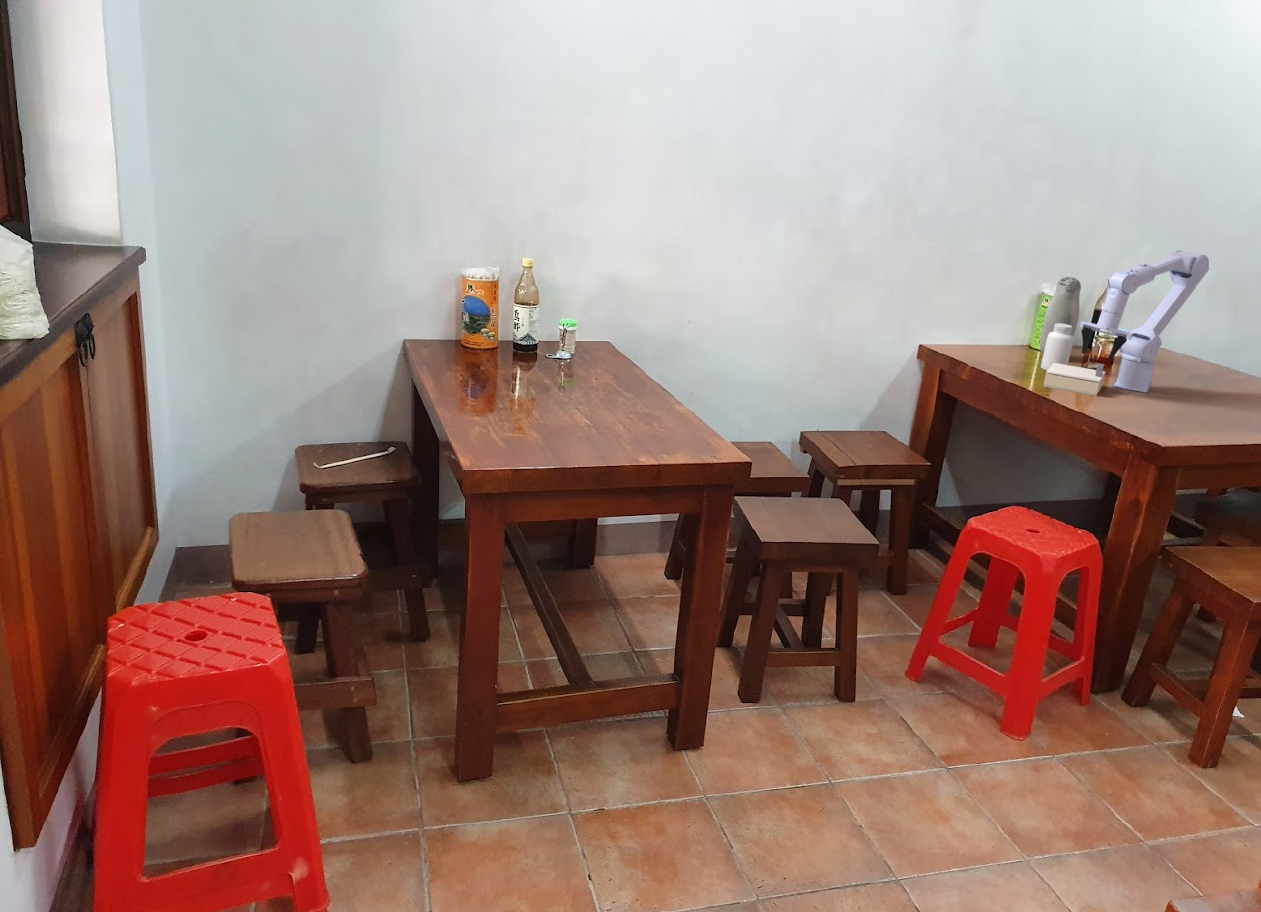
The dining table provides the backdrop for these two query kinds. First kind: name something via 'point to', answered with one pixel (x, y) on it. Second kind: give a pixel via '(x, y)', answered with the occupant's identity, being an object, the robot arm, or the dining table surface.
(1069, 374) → the lid
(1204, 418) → the dining table surface
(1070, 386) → the beige open box
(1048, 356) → the pill bottle
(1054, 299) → the gray tapered bottle
